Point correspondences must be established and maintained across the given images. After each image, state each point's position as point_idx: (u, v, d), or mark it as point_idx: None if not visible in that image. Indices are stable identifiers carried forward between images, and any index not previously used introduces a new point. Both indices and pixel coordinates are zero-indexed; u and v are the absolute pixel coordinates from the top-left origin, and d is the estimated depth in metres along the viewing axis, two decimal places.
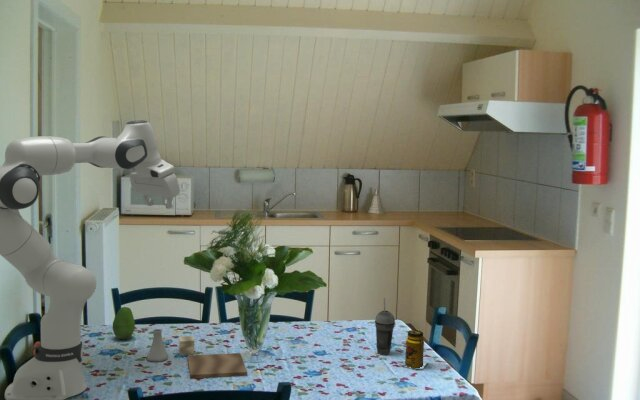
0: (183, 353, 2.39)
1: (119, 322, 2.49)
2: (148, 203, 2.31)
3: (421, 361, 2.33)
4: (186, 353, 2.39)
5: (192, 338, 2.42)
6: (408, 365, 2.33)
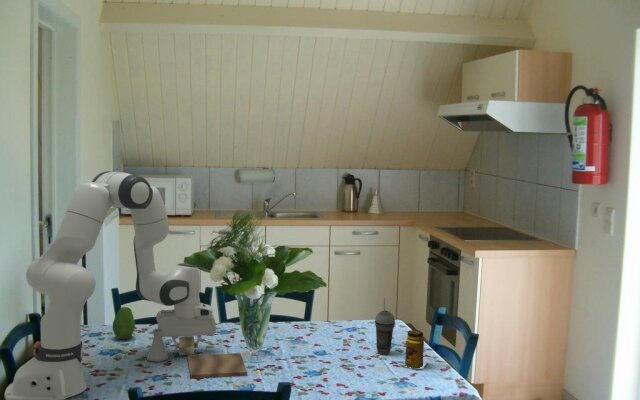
0: (183, 353, 2.39)
1: (119, 322, 2.49)
2: (178, 346, 2.39)
3: (421, 361, 2.33)
4: (186, 353, 2.39)
5: (192, 337, 2.42)
6: (408, 365, 2.33)
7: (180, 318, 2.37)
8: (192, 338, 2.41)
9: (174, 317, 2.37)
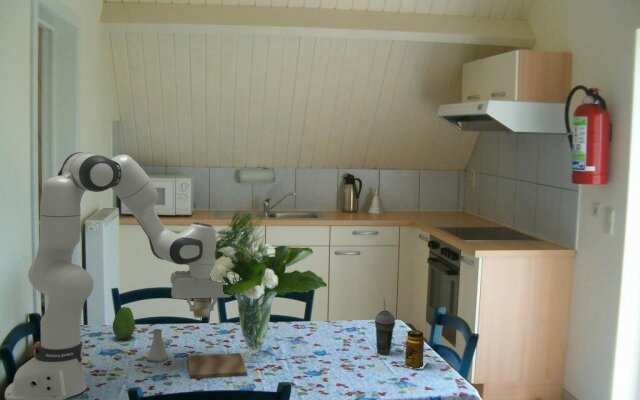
0: (198, 315, 2.30)
1: (119, 322, 2.49)
2: (193, 308, 2.31)
3: (421, 361, 2.33)
4: (201, 315, 2.30)
5: (207, 300, 2.33)
6: (408, 365, 2.33)
7: (195, 279, 2.29)
8: (207, 300, 2.33)
9: (189, 278, 2.29)
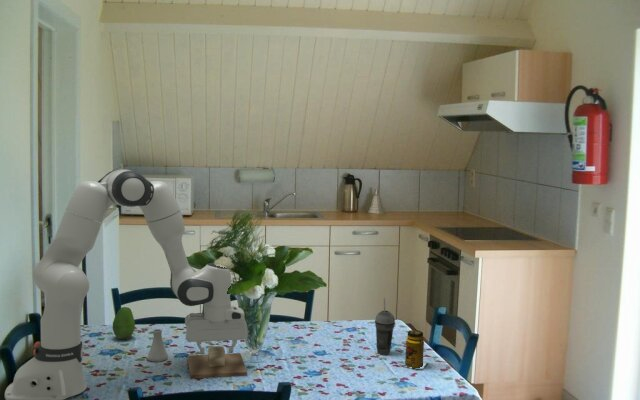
0: (213, 364, 2.25)
1: (119, 322, 2.49)
2: (203, 351, 2.25)
3: (421, 361, 2.33)
4: (216, 364, 2.25)
5: (222, 348, 2.28)
6: (408, 365, 2.33)
7: (210, 322, 2.24)
8: (222, 348, 2.28)
9: (204, 321, 2.23)
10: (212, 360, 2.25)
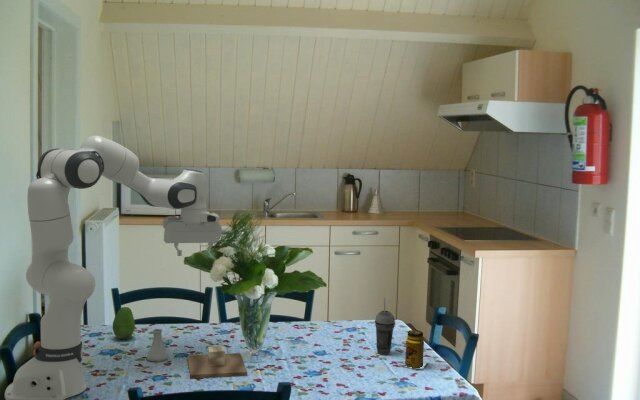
0: (213, 364, 2.25)
1: (119, 322, 2.49)
2: (180, 253, 2.38)
3: (421, 361, 2.33)
4: (216, 364, 2.25)
5: (222, 348, 2.28)
6: (408, 365, 2.33)
7: (187, 224, 2.36)
8: (222, 348, 2.28)
9: (181, 223, 2.36)
10: (212, 360, 2.25)
